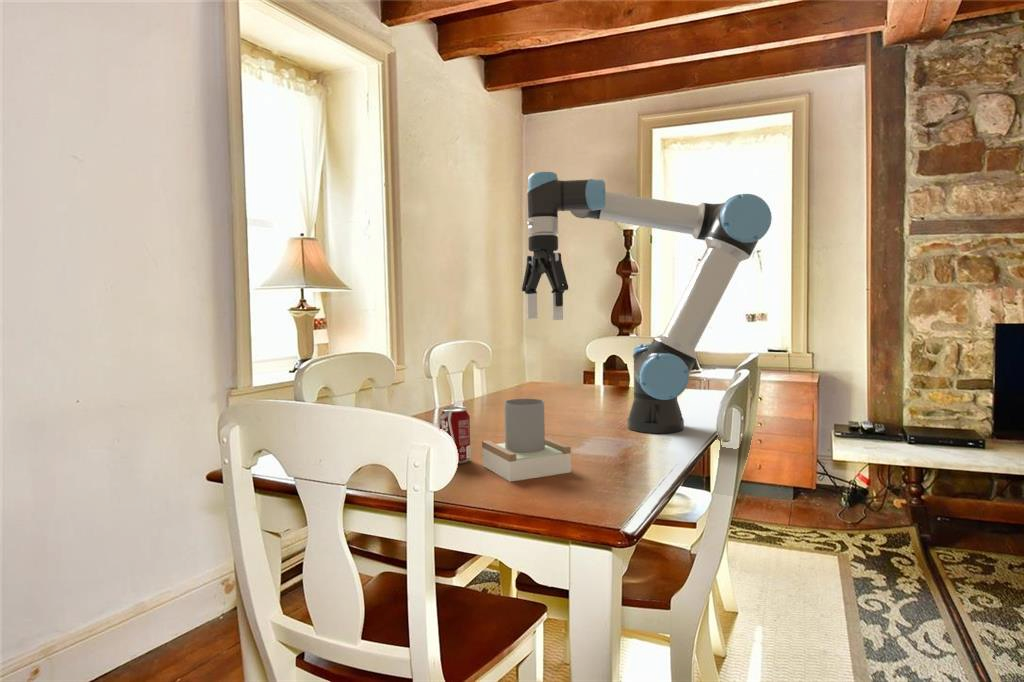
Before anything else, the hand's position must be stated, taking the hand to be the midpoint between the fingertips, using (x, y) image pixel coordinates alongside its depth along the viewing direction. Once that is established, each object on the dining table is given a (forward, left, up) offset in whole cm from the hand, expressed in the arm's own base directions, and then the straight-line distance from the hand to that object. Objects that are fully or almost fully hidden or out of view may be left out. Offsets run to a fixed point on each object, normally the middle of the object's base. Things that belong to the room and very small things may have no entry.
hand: (544, 319), depth 164 cm
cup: (+18, +24, -26) cm, 40 cm away
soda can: (+29, +11, -31) cm, 44 cm away
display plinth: (+18, +24, -31) cm, 43 cm away
